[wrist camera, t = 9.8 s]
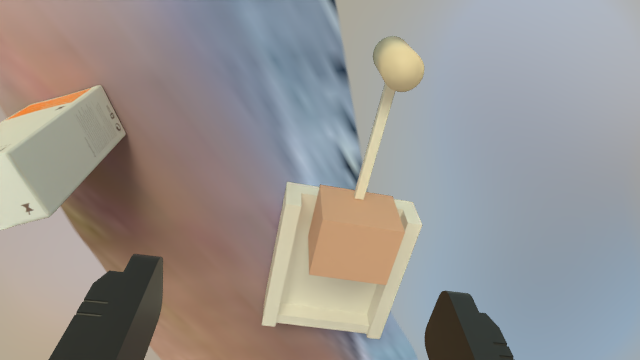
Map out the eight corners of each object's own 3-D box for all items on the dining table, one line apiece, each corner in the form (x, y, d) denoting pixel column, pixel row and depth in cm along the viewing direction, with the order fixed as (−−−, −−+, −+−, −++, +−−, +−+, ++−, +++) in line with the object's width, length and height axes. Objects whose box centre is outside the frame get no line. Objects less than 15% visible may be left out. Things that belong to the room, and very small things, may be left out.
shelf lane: (287, 181, 38) (285, 203, 34) (412, 202, 39) (422, 225, 36) (264, 297, 44) (261, 325, 40) (374, 311, 45) (379, 339, 42)
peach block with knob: (354, 27, 31) (365, 47, 26) (437, 45, 32) (463, 67, 26) (307, 228, 39) (309, 274, 34) (374, 238, 40) (386, 285, 34)
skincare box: (101, 81, 33) (7, 151, 22) (128, 133, 35) (53, 219, 24) (26, 103, 34) (-100, 180, 23) (57, 152, 36) (-46, 244, 25)
